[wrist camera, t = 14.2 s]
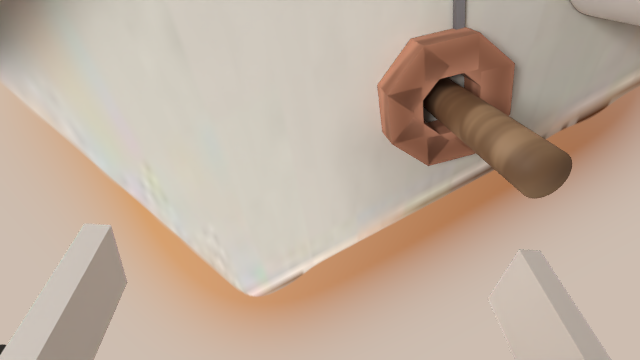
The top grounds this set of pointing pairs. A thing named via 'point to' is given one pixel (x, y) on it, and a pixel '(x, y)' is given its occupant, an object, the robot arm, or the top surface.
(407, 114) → the terracotta faceted ring
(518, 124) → the dowel
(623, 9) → the milk bottle
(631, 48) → the top surface
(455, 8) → the grey thin bar
